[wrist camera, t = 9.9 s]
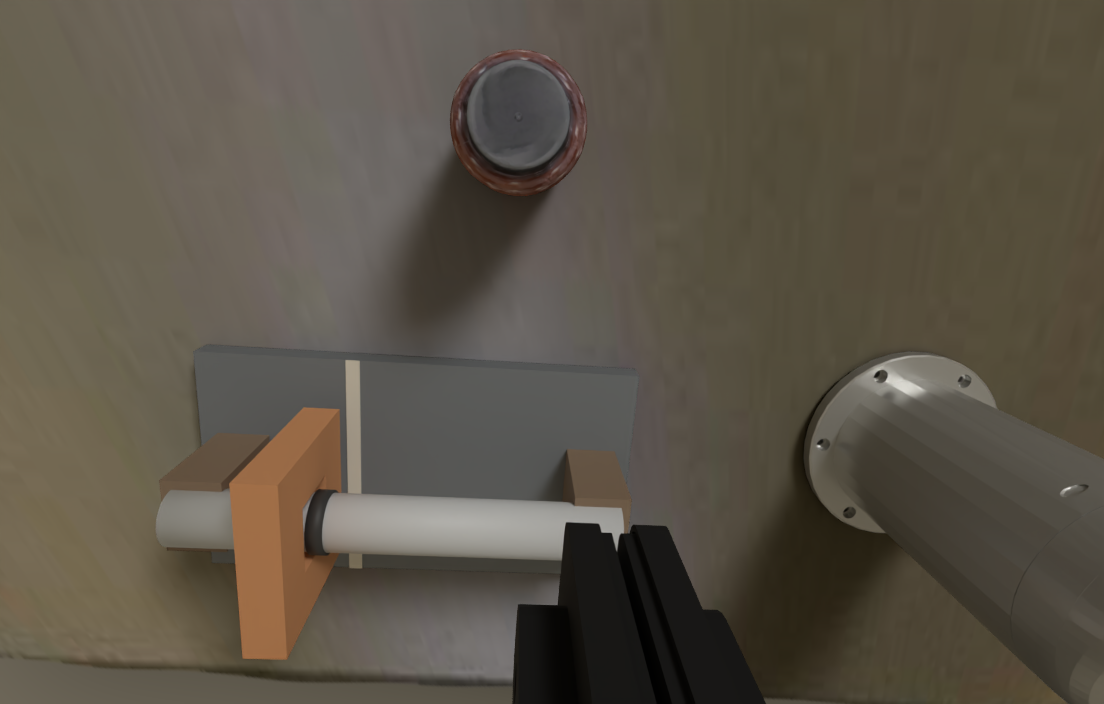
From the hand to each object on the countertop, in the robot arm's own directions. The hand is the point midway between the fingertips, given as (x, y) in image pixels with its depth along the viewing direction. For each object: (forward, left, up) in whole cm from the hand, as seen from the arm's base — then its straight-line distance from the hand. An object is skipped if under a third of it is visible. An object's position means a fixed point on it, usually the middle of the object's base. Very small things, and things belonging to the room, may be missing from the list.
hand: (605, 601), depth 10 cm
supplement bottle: (+2, -9, -27) cm, 29 cm away
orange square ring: (+12, +11, -24) cm, 29 cm away
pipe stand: (+7, +11, -27) cm, 30 cm away
